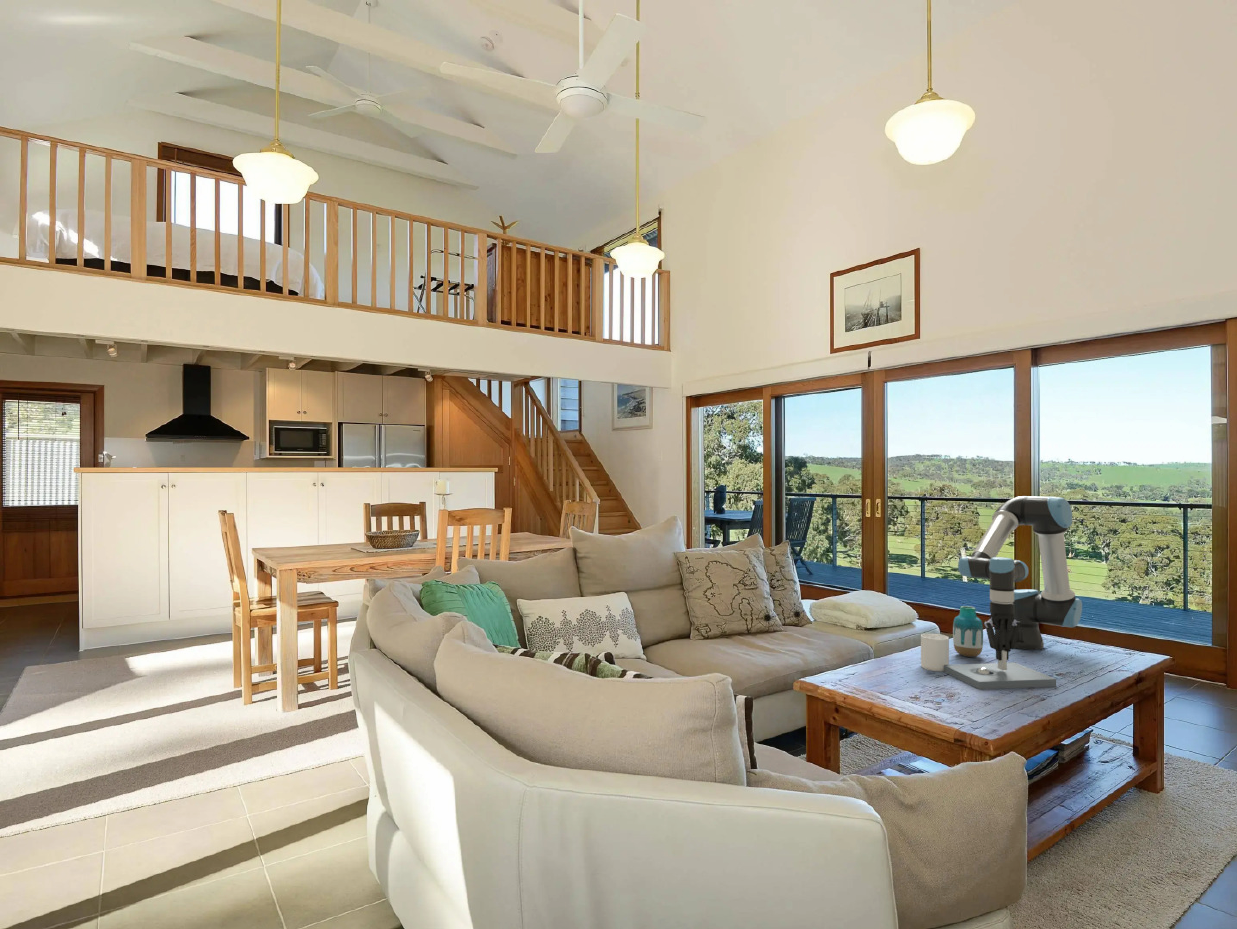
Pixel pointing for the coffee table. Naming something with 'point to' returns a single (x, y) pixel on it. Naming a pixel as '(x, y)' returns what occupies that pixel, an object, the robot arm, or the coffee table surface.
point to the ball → (983, 671)
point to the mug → (934, 651)
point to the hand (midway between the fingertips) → (1002, 669)
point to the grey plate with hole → (999, 676)
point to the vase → (968, 632)
